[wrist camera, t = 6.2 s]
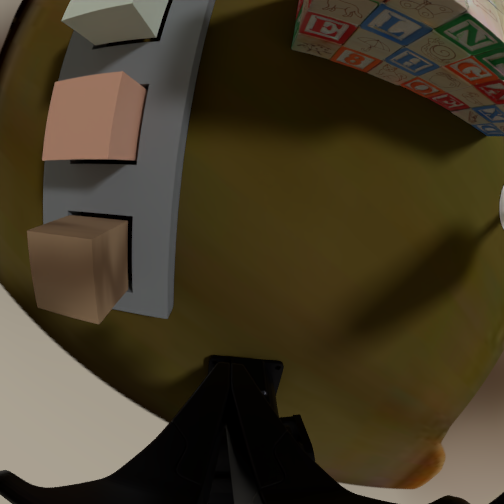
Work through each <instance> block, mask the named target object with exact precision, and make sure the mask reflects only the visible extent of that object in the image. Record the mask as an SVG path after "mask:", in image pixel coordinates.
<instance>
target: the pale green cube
mask: <svg viewBox="0 0 504 504" xmlns="http://www.w3.org/2000/svg"><path fill="white" fill-rule="evenodd" d="M167 3H168V0H71V1H70V3H69V5H68V7H67V9H66V11H65V14H64V16H63V18H62V22H64V23H65V24H67V25H68V26H69V27H71V28H72V29H74V30H75V31H76V32H78V33H79V34H81V35H82V36H83V37H85V38H86V39H87V40H89V41H90V42H91V43H93V44H94V45H101V44H106V43H112V42H119V41H126V40H135V39H145V38H156V37H157V34H158V30H159V27H160V24H161V21H162V18H163V15H164V12H165V9H166V6H167Z"/></svg>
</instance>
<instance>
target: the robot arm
mask: <svg viewBox="0 0 504 504" xmlns="http://www.w3.org/2000/svg"><path fill="white" fill-rule="evenodd" d="M213 360H216V361H217V362H214V361H213ZM276 366H279V367H276ZM283 368H284V366H283V363H282V362H281V361H273V360H258V359H246V358H235V357H225V356H216V355H213V356H211V357H210V359H209V371H208V376H207V377H206V378H205V379H204V381H203V382H202V383H201V385H200V386H199V387H198V388H197V390H196V391H195V392H194V393H193V395H192V396H191V397H190V398H189V400H188V401H187V402H186V403H185V405H184V406H183V407H182V408H181V409H180V411H179V412H178V413H177V414H176V416H175V417H174V418H173V419H172V422H170V423H169V424H168V425H167V426H166V428H165V429H164V430H163V431H162V432H161V433H160V434H159V435H158V436H157V437H156V439H154V440H153V441H152V442H151V443H150V444H149V445H148V446H147V447H146V448H145V449H144V450H142V451H141V452H140V453H139V454H137V455H136V456H135V457H134V458H133V459H132V460H130V461H129V462H128V463H126V464H125V465H124V466H123V467H121V468H120V469H119V470H117V471H116V472H115V473H113V474H111V475H110V476H108V477H105V478H103V479H99V480H95V481H90V482H85V483H81V484H74V485H69V486H62V487H54V488H43V487H38V486H34V485H31V484H29V483H27V482H25V481H24V480H22V479H21V478H19V477H18V476H16V475H15V474H13V473H11V472H10V471H7V470H3V471H0V495H2V496H3V497H4V498H5V499H7V500H8V501H9V502H11V503H12V504H396V503H390V502H386V501H381V500H377V499H373V498H369V497H365V496H361V495H357V494H355V493H352V492H350V491H348V490H346V489H345V488H343V487H342V486H341V485H339V484H338V483H337V482H336V481H335V480H334V479H333V478H332V477H331V476H329V475H328V474H327V473H326V472H325V471H324V470H323V469H322V468H321V467H320V466H319V465H318V464H317V463H316V462H315V457H314V452H313V447H312V444H311V442H310V439H309V436H308V434H307V431H306V429H305V426H304V424H303V421H302V419H301V416H300V414H299V415H293V416H291V417H281V418H279V415H278V409H277V402H276V393H277V389H278V386H279V382H280V379H281V375H282V372H283ZM429 504H470V503H468V502H467V501H466V500H464V499H462V498H459V497H453V496H450V495H448V496H444V497H442V498H440V499H438V500H436V501H434V502H432V503H429ZM489 504H504V492H503V493H502V494H501V495H500V496H499V497H497V498H496V499H494V500H493V501H492V502H491V503H489Z"/></svg>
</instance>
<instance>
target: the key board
mask: <svg viewBox="0 0 504 504" xmlns="http://www.w3.org/2000/svg"><path fill="white" fill-rule="evenodd" d="M214 3H215V0H173V1H172V4H171V7H170V10H169V13H168V16H167V19H166V22H165V25H164V29H163V32H162V35H161V39H160V41H157V42H144V43H133V44H125V45H117V46H111V47H106V46H107V43H106V44H101V45H94V44H93V43H91V42H90V41H89V40H87V39H86V38H85V37H83V36H82V35H81V34H79V33H78V32H76V31H75V30H74V32H73V34H72V37H71V40H70V43H69V46H68V49H67V52H66V55H65V58H64V61H63V65H62V68H61V72H60V76H59V79H58V81H62V80H67V79H72V78H77V77H83V76H89V75H95V74H102V73H111V72H120V71H123V72H125V73H126V74H127V75H129V76H130V77H131V78H132V79H134V80H135V81H136V82H138V83H139V84H140V85H141V86H143V87H144V88H145V89H146V90H148V93H147V98H146V103H145V109H144V115H143V121H142V127H141V134H140V141H139V149H138V157H137V165H130V164H83V163H84V160H45V166H44V184H43V224H46V223H49V222H52V221H54V220H57V219H60V218H63V217H66V216H69V215H75V216H81V212H91V213H102V214H113V215H124V216H133V223H132V281H130V280H128V290H127V291H126V293H125V294H124V295H123V296H122V297H121V298H120V300H119V301H118V302H117V303H116V304H115V306H114V307H113V308H112V309H115V310H120V311H125V312H131V313H136V314H141V315H147V316H153V317H159V318H165V319H168V317H169V315H170V312H171V310H172V308H173V294H174V265H175V246H176V231H177V218H178V206H179V195H180V185H181V176H182V168H183V159H184V152H185V144H186V137H187V130H188V124H189V118H190V111H191V106H192V100H193V94H194V89H195V84H196V78H197V73H198V69H199V64H200V59H201V55H202V50H203V46H204V41H205V37H206V33H207V29H208V25H209V21H210V18H211V14H212V10H213V7H214Z"/></svg>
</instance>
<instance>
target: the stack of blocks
mask: <svg viewBox="0 0 504 504" xmlns="http://www.w3.org/2000/svg"><path fill="white" fill-rule="evenodd" d="M291 49H292V50H295V51H299V52H303V53H308V54H311V55H315V56H319V57H322V58H326V59H329V60H331V61H333V62H336V63H339V64H343V65H346V66H349V67H352V68H354V69H357V70H360V71H363V72H366V73H368V74H371V75H373V76H375V77H378V78H381V79H383V80H385V81H388V82H390V83H393V84H395V85H400V86H402V87H404V88H407V89H409V90H411V91H413V92H415V93H417V94H419V95H421V96H423V97H425V98H428V99H430V100H432V101H433V102H435V103H437V104H439V105H441V106H442V107H444V108H446V109H447V110H450V111H451V113H453V114H454V115H456V116H458V117H459V118H461V119H462V120H464V121H465V122H467V123H468V124H471V125H472V126H473V127H475V128H476V129H478V130H479V131H481V132H482V133H484V134H485V135H486V136H504V0H299V2H298V7H297V14H296V24H295V29H294V35H293V41H292V46H291Z"/></svg>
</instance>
